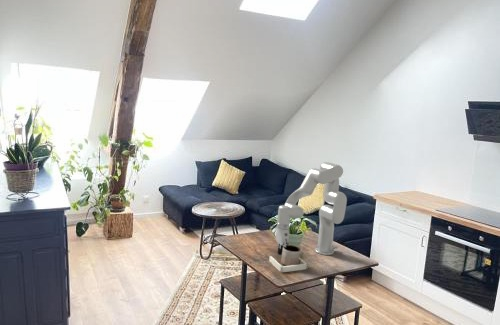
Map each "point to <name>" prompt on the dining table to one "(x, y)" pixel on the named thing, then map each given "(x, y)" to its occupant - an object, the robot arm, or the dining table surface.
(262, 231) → the dining table surface
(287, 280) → the dining table surface
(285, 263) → the planter
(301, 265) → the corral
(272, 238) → the dining table surface
